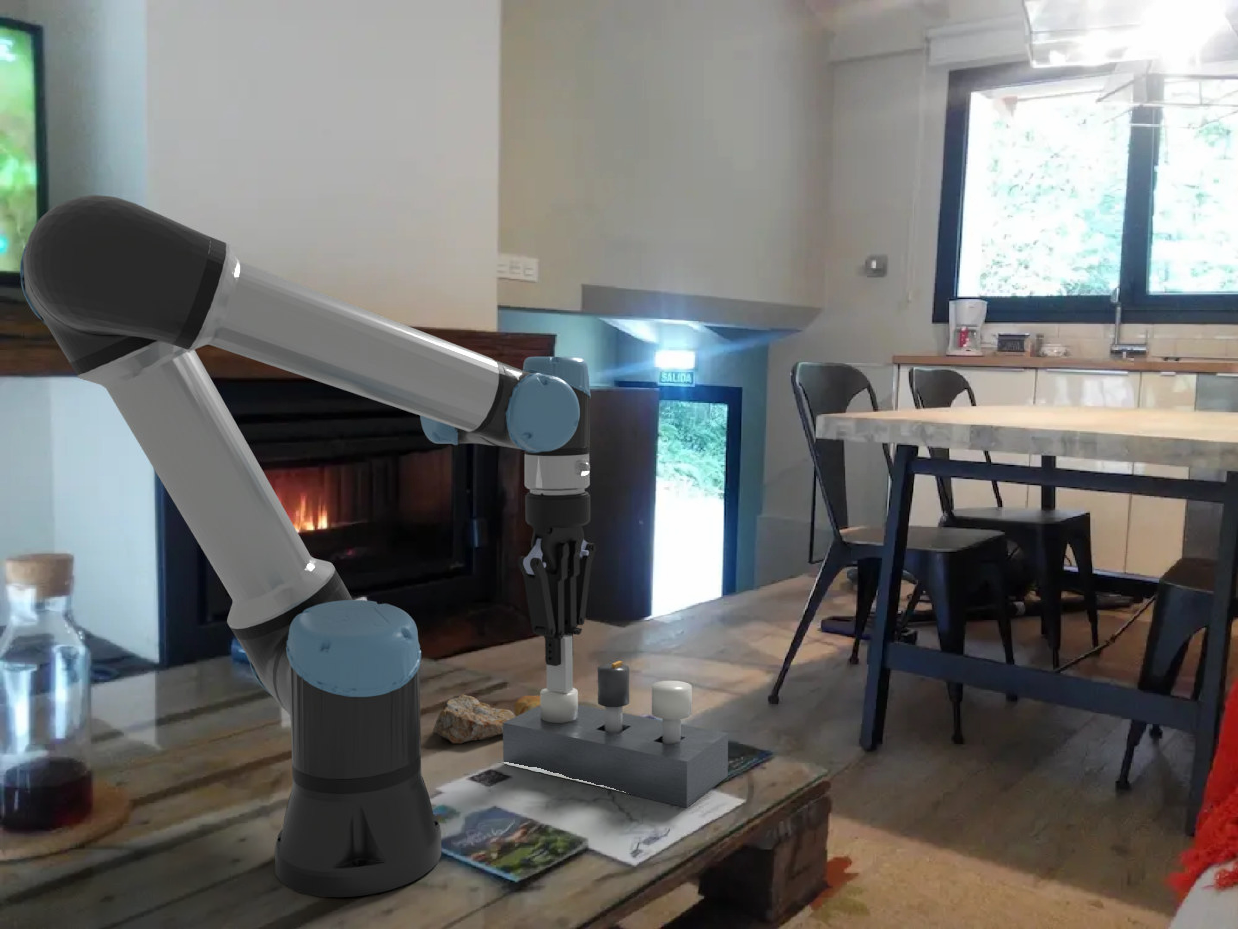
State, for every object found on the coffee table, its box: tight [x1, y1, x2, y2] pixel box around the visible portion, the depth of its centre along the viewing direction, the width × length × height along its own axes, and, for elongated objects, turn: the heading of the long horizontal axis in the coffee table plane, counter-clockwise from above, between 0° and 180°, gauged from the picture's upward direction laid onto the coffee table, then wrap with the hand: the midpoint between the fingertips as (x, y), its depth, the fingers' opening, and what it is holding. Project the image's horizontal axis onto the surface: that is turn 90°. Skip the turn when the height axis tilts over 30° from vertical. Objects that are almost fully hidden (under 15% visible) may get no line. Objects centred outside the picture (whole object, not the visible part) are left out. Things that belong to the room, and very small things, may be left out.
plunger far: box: [539, 687, 579, 723], centre depth 124 cm, size 4×4×8 cm
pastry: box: [513, 694, 540, 716], centre depth 138 cm, size 9×7×4 cm
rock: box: [432, 693, 516, 745], centre depth 133 cm, size 9×6×10 cm
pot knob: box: [597, 660, 630, 734], centre depth 120 cm, size 4×4×9 cm
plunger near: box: [651, 680, 693, 745], centre depth 116 cm, size 4×4×8 cm
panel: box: [502, 704, 729, 809], centre depth 120 cm, size 24×10×5 cm, turn 59°
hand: (559, 689), depth 124 cm, fingers closed
